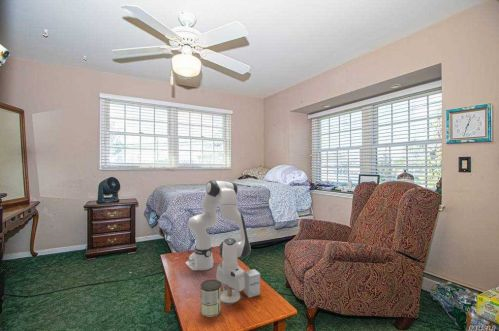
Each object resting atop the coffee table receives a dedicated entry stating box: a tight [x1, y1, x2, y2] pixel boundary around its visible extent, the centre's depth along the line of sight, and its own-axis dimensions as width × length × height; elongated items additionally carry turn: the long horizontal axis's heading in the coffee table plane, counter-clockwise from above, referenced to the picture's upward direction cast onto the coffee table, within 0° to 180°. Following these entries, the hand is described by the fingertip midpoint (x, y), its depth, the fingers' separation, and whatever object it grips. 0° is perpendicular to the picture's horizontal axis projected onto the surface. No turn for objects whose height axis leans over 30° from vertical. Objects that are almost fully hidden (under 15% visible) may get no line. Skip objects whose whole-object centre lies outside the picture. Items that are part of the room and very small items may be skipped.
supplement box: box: [243, 268, 261, 298], centre depth 140 cm, size 7×7×13 cm
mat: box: [223, 294, 245, 307], centre depth 135 cm, size 12×12×1 cm
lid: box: [221, 285, 241, 304], centre depth 135 cm, size 12×12×6 cm
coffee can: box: [200, 279, 222, 318], centre depth 123 cm, size 10×10×14 cm
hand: (229, 292), depth 135 cm, fingers open, 6 cm apart
